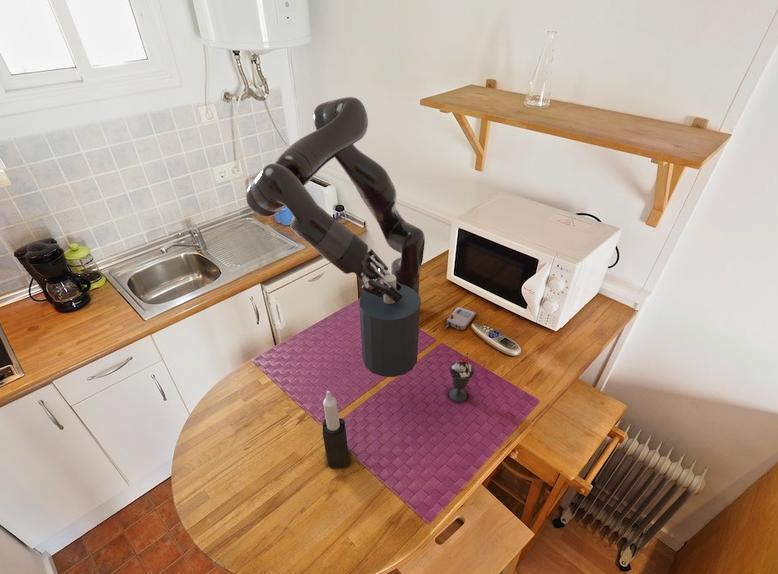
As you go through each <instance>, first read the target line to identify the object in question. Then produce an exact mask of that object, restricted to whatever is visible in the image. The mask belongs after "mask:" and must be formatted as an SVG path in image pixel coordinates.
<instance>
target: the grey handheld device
mask: <svg viewBox="0 0 778 574" xmlns="http://www.w3.org/2000/svg"><path fill="white" fill-rule="evenodd" d="M476 315H477V312H475V311H472V310H469V309H467V308H464V307H460V306H458V307H456V308H455V309H454V311H453V312H452V313H451V314H450V315H449V316H448V318H447V319H446V326H445V328H444V330H446V329H448V327H452V328H454V329H456V331H458V330H461V331H464V330H465V329H466V328H467V327H468V326H469V324H470V323H471V322H472V320H473V319H474V318H475V317H476Z"/></svg>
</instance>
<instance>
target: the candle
mask: <svg viewBox="0 0 778 574" xmlns="http://www.w3.org/2000/svg"><path fill="white" fill-rule="evenodd" d="M322 404H323V411H324V416H325V419H324V420H323V422H322V432H321V433H322V439H323V444H324V449H325V455H326V463H327V466H328V467H329V468H330V469H338V468H346V467H348V466H349V463H350V462H349V461H350V460H349V447H348V445H349V444H348V438H347V430H346V429H347V428H346V422H345V419H344V418H342V417H339V410H338V401H337V398H336V397H334V396H333V395H332V394H331V390H326V396H325V398H324V400H323V401H322Z"/></svg>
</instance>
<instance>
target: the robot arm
mask: <svg viewBox="0 0 778 574" xmlns="http://www.w3.org/2000/svg"><path fill="white" fill-rule="evenodd" d="M313 123H314V127H315V130H314V131H312V132H310V133H308V134H306V135H304V136H302V137H301V138H299V139H298V140H296V141H295V142H293V143H292V144H291V145H289V147H287V148H286V149H285V150H284V151H283V152H282V153H281V154H280V155H279V156H278V158H277V159H276V160H275V161H274V163H269V164H267V165H265V166H264V167H263V168H262V169H261V170H260V171H259V172H258V174H257V175H256V176H255V177H254V179H252V181H251V182H250V184H249V185H248V187H247V188H246V193H245V199H246V203H247V206H248V208H249V209H250V210H251V212H253V213H254V214H256V215H257V216H260V217H262V218H263V217H264V218H269V217H274V216H276V215H278V214H279V213H280V212H281V211H282V210H283V209H284V208H287V209H288V211H290V213H291V214H292V218H291V221H290V224H289V225H290V229H291V230H292V232H294V234H295V235H297V236H298V237H299V238H301V240H303V241H304V242H306V243H307V244H308V245H309V246H310V247H312V248H313V250H315V251H316V252H317V253H318V254H319V255H320V256H321V257H323V258H324V259H326V260H327V262H329V263H331V264H332V265H333V266H334V267H336V268H337V269H338V270H339V271H341V272H342V273H344V274H345V275H348V274H352V273H354V275H356V276H357V277H358V278H359V280H361V281H363V285H362V287H361V288H362V290H363V292H364V291H366V292H369V293H371V294H374V295H376V296H379V297H382V296H383V295H384V294H386V295H387V296H389V297H390V298H391V299H392V300H394V301H395V302H397V301H399V300H400V299H401V298H402V293H401V292H399V290H400V289H401V288H402V286H401V285H405V286H408V287H410V288H412V289H413V290H414V291H416V292H417V294H418V295H419V296H420V294H419V293H420V275H421V274H420V273H421V272H420V271H421V268H422V264H423V261H424V253H425V252H424V251H425V244H426V243H425V242H426V241H425V240H426V235H425V232H424V231H423V229H422V228H419V227H418V226H416V225H414V224H412V223H410V222H407V221H406V220H405V219H404V217H402V215H401V214H400V212H399V211H398V209H397V206H396V204H397V195H398V194H397V190H396V188H395V185H394V183H393V181H392V179H391V177H390V175H389V173H388V172H387V170H386V169H385V168H384V167H383V166H382V165H381V164H380V163H379V162H377V161H376V160H374V159H373V158H371V157H370V156H368V155H367V154H365V153H363V152H362V151H361V150H360V149H359V148H357V146H356V145H355V144H356V143H357V142H359V141H361V140H362V139H363V138H365V135H366V134H367V131H368V128H369V117H368V111H367V109H366V107H365V105H364V103H363V102H362V101H361V100H360V99H359V98H358V97H353V96H348V97H342V98H336V99H331V100H328V101H325V102H321V103H320V104H318V105H317V106H316V107H315V109H314V112H313ZM332 159H335V160H336V161H337V162H338V164H339V165H340V166H341V168H342V169H343V171H344V172H345V174H346V175H347V177H348V178H349V180H350V181H351V183H352V184H353V186H354V188H355V189H356V191H357V193H358V194H359V197H360V198H361V200H362V201H363V203H364V204H365V206H366V207H367V209H368V210H369V211H370V213H371V215H372V216H373V218H374V219H375V221H376V222H377V224H378V226H379V228H380V231H381V233H382V235H383V237H384V239H385V242H386V243H387V245H388V246H389V247H390V248H391V249H392V250H394V251H396V252H397V253H399V254H400V257H398V258H395V259H394V260H392V262H391V273H390V272H389V267H388V266H387V265H386V264H385V263H384V261H383V260H382V259H381V258H380V257H379V256H378V254H376V252H375V251H374V250H373V249H372V248H370V249H369V246H368V244H367V243H366V242H365V241H364V240H362V238H360V237H359V236H357V234H355V233H354V232H353V231H352V230H350V228H348V227H347V226H345V225H344V224H343V223H342V222H340V221H338V220H337V219H335V218H334V217H333V216H331V215H330V214H329V213H328V212H327V211H326V210H325V209H323V208H322V207H321V206H320V205H319V204H317V203H316V201H315V200H314V198H313V197H312V195H311V193H309V191H308V190H307V188H306V187H305V186H306V185H307V184H308V183H309V182H310V181H311V180H312V179H313V178H314V177H315V176H316V175H317V174H318V173H319V172H320V170H322V168H323V167H325V166H326V165H327V164H328V163H329V162H330V161H332ZM389 274H391V275H394V276H396V288H394V287H393V286H392V285H390V284H389V283H388V282H387V281H386V280H385V279H384V276H385V275H389ZM383 284H384V285H383Z"/></svg>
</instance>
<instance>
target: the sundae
mask: <svg viewBox="0 0 778 574" xmlns="http://www.w3.org/2000/svg"><path fill="white" fill-rule="evenodd" d="M469 354H470V353H469V352H466V355H465V357H464V358H461V359H460V360H458V361H456V362H454V363H452V364H451V365H450V366H449V373H450V375H451V381H452V385H453V387H454V388H453V389H451V390H450V391H449V393H448V394H449V398H450V399H451V400H452V401H454V402H457V403H460V402H461V403H462V402H464V401H466V399H467V397H468V395H467V392H466V391H465V390H464V389H465V388H467V386H468V384H469V381H470V380H471V379H472V378H473V376H475V368H474V367H473V366H472V365H471V363H470V360H469V359H468V356H469Z"/></svg>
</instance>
